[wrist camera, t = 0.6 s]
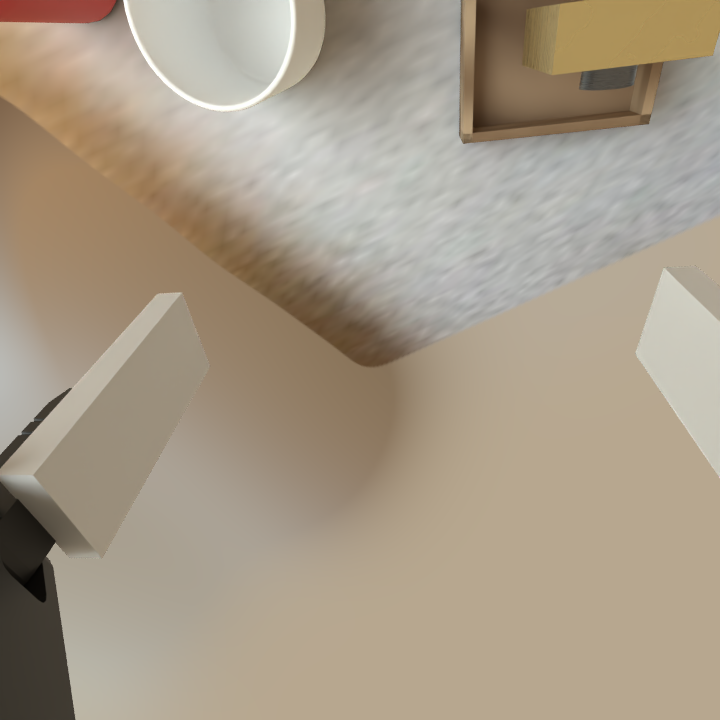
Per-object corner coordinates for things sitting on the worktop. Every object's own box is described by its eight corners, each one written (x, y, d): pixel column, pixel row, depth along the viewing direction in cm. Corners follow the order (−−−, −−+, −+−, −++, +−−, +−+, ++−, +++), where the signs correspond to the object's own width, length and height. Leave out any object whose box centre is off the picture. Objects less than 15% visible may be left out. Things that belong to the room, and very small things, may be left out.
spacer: (526, 9, 24) (560, 4, 18) (659, -10, 23) (734, -22, 18) (522, 65, 25) (552, 75, 20) (647, 49, 24) (712, 55, 19)
